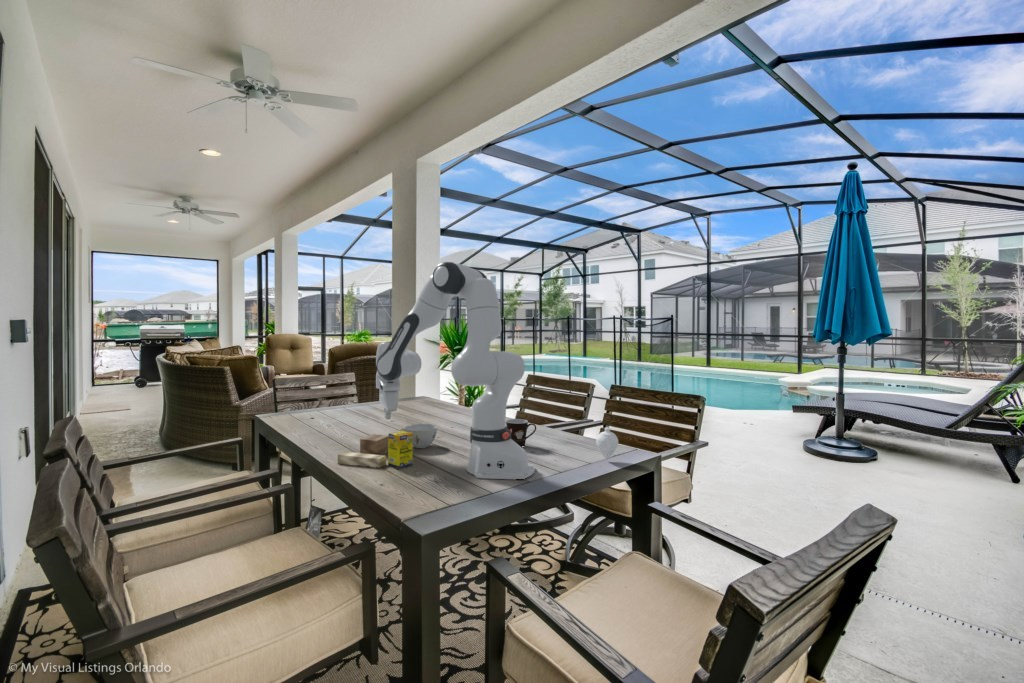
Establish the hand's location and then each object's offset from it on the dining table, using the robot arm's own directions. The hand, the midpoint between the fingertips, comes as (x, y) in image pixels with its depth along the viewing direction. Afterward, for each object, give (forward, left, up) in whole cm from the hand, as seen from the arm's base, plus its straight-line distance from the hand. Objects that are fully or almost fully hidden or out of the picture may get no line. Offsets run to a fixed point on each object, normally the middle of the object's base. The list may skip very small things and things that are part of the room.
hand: (387, 418), depth 181 cm
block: (0, +9, -11) cm, 15 cm away
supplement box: (-16, +19, -11) cm, 28 cm away
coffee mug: (-49, -16, -11) cm, 53 cm away
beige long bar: (-3, +22, -11) cm, 25 cm away
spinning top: (-83, -6, -11) cm, 84 cm away
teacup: (-11, -4, -11) cm, 16 cm away
